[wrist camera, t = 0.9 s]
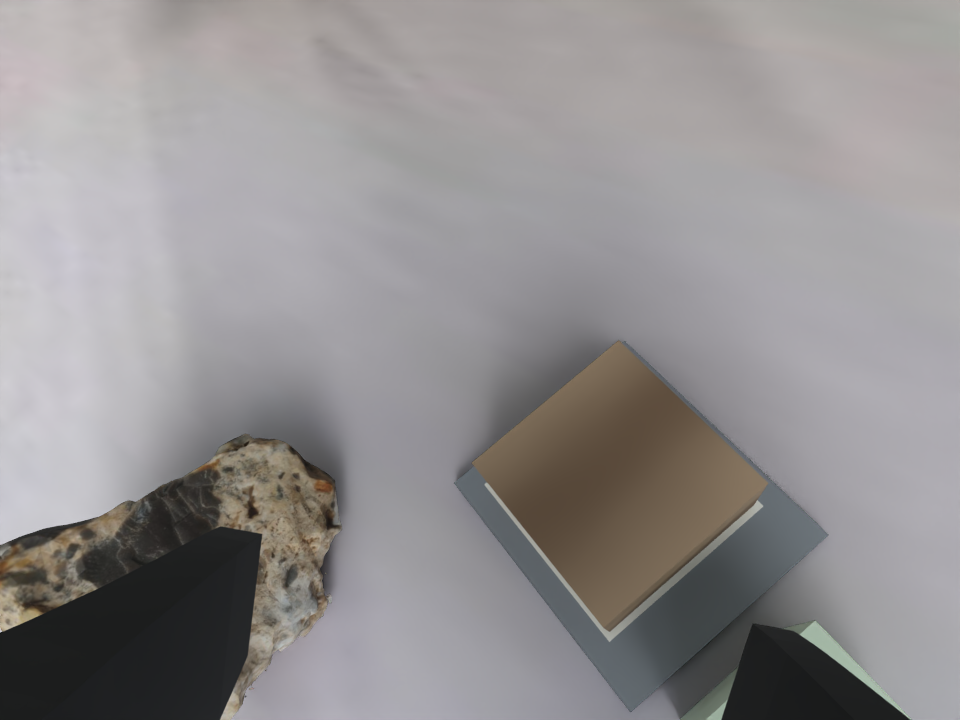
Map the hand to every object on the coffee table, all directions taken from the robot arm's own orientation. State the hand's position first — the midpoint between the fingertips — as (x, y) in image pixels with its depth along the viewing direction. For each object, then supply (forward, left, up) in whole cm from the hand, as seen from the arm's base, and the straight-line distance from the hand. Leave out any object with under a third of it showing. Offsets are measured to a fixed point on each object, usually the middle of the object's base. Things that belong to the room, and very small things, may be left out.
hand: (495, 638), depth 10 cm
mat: (+2, -4, -13) cm, 14 cm away
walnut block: (+3, -4, -12) cm, 13 cm away
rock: (+9, +8, -13) cm, 18 cm away
